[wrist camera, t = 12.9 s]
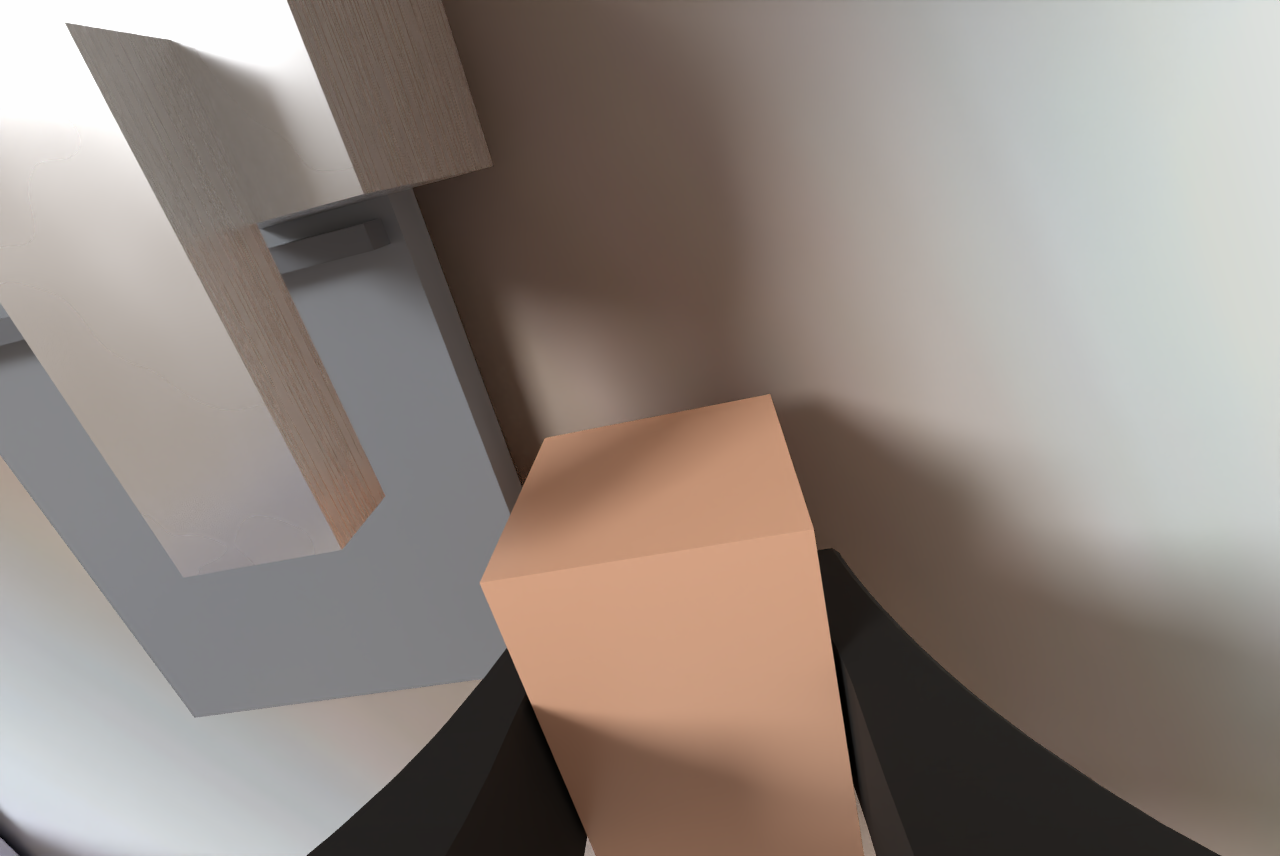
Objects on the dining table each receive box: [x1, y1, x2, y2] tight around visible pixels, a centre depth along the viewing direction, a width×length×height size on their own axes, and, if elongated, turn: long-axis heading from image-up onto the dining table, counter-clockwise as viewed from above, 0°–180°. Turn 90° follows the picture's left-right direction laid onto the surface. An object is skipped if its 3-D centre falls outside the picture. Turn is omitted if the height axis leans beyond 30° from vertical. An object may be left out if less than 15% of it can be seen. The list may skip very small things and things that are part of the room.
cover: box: [480, 394, 864, 856], centre depth 11 cm, size 7×4×4 cm, turn 14°
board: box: [0, 188, 522, 717], centre depth 12 cm, size 15×10×2 cm, turn 14°
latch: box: [0, 0, 493, 578], centre depth 8 cm, size 6×4×5 cm, turn 14°
